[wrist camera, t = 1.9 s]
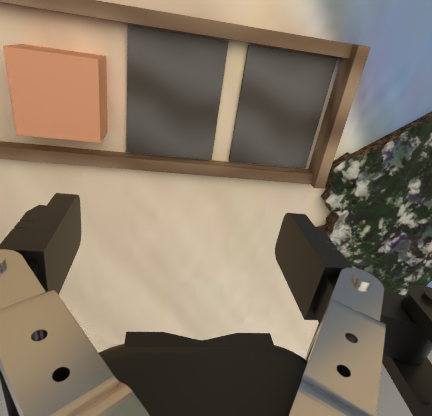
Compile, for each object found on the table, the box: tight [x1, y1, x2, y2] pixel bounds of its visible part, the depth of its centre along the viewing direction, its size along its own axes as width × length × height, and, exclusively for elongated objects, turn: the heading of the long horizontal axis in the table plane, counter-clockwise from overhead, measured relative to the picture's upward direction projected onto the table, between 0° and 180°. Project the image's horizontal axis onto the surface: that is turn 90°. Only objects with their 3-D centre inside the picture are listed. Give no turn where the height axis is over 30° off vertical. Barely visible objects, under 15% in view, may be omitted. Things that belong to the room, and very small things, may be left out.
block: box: [3, 44, 107, 143], centre depth 29 cm, size 7×7×4 cm
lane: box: [0, 0, 371, 189], centre depth 29 cm, size 14×49×4 cm, turn 82°
